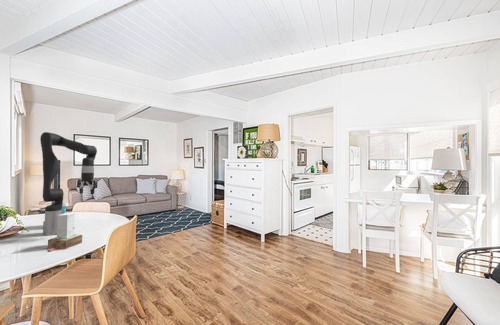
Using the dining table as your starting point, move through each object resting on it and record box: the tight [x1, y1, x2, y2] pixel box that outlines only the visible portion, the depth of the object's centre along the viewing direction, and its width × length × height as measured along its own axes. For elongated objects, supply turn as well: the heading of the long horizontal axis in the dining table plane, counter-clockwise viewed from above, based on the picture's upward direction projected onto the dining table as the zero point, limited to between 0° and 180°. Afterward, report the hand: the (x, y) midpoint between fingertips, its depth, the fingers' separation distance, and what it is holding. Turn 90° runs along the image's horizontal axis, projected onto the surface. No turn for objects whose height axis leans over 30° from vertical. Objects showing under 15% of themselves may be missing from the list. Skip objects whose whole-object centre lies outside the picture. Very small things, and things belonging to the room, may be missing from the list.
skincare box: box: [56, 212, 76, 239], centre depth 142 cm, size 8×6×15 cm
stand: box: [47, 233, 83, 250], centre depth 142 cm, size 12×12×5 cm
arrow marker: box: [47, 247, 58, 252], centre depth 134 cm, size 6×3×1 cm, turn 175°
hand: (86, 193), depth 164 cm, fingers open, 8 cm apart
